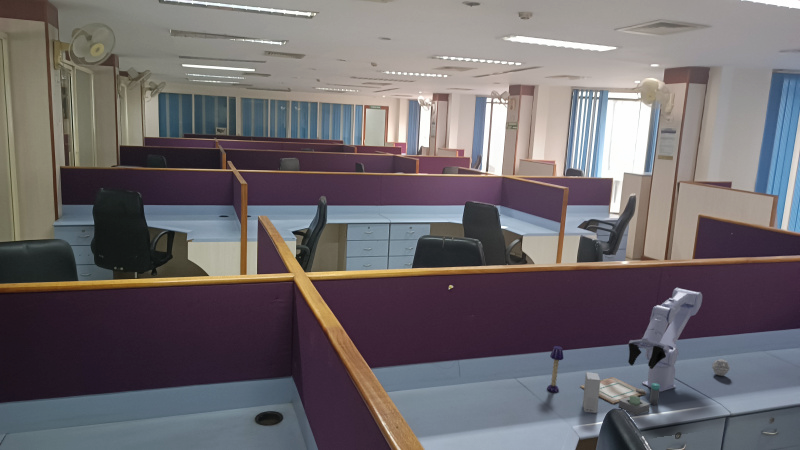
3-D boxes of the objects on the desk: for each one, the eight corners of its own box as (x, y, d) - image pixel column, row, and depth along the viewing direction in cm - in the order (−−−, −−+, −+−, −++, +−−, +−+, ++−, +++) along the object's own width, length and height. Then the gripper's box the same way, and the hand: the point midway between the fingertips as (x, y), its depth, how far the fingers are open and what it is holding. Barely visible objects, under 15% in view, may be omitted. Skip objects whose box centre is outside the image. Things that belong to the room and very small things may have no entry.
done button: (633, 402, 200) (634, 394, 199) (641, 407, 197) (642, 399, 196) (626, 404, 198) (627, 396, 197) (635, 409, 195) (635, 401, 195)
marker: (652, 400, 204) (654, 382, 203) (659, 404, 202) (661, 385, 200) (647, 402, 203) (649, 384, 201) (654, 405, 200) (656, 387, 199)
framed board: (613, 377, 222) (613, 375, 222) (646, 393, 209) (647, 391, 209) (580, 387, 213) (580, 384, 213) (613, 404, 200) (613, 401, 200)
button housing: (631, 402, 202) (632, 395, 202) (649, 410, 196) (649, 404, 196) (618, 406, 199) (619, 399, 198) (635, 415, 193) (636, 408, 192)
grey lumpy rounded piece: (714, 378, 225) (716, 361, 224) (708, 371, 232) (710, 354, 231) (730, 380, 224) (733, 363, 223) (725, 373, 231) (727, 356, 230)
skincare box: (597, 413, 193) (600, 380, 191) (584, 412, 194) (587, 378, 192) (595, 405, 199) (598, 373, 197) (582, 403, 200) (585, 371, 198)
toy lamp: (554, 386, 213) (558, 344, 210) (563, 391, 209) (567, 348, 206) (544, 388, 211) (548, 345, 208) (552, 394, 207) (556, 350, 204)
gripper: (630, 325, 210) (616, 355, 204) (668, 329, 198) (654, 361, 192) (639, 337, 213) (625, 367, 207) (677, 341, 201) (663, 374, 195)
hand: (640, 365), depth 200 cm, fingers open, 7 cm apart
